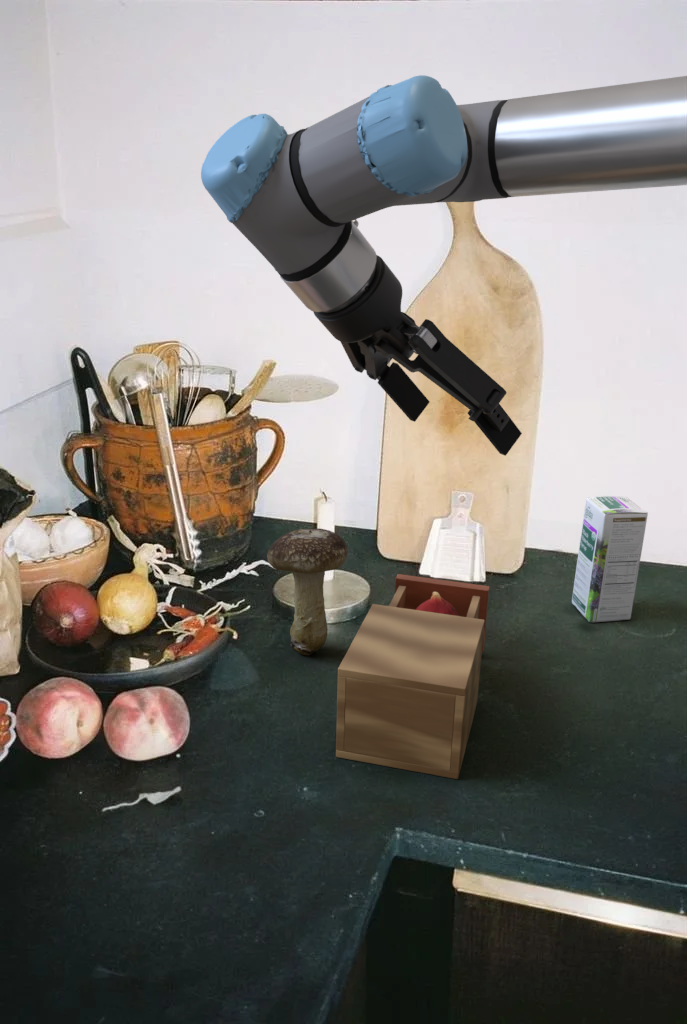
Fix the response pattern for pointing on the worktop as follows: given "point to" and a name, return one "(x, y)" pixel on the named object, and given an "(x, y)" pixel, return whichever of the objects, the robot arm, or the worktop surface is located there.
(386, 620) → the cabinet
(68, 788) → the worktop surface
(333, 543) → the mushroom
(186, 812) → the worktop surface
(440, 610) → the onion
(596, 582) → the syrup box
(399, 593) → the drawer
